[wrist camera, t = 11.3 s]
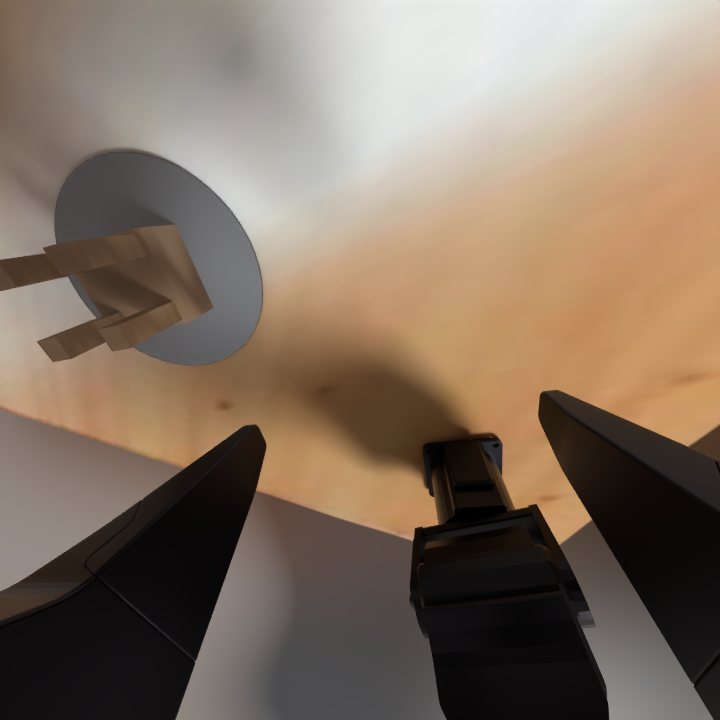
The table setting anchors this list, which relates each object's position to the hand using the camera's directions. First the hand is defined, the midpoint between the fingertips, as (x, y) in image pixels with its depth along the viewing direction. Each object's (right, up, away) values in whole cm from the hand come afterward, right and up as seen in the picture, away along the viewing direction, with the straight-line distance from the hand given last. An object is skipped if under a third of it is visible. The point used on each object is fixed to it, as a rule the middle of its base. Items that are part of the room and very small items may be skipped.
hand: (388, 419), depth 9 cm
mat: (-15, +8, +11) cm, 20 cm away
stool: (-15, +8, +11) cm, 20 cm away
